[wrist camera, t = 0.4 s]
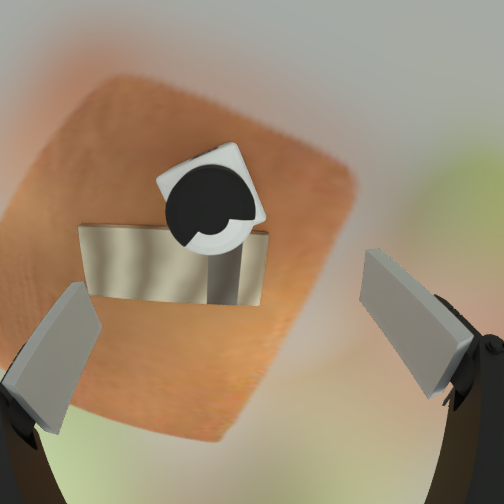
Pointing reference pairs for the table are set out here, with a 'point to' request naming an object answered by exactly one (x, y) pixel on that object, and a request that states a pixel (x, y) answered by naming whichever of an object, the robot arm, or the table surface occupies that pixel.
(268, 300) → the table surface
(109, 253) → the metal panel
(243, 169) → the container
